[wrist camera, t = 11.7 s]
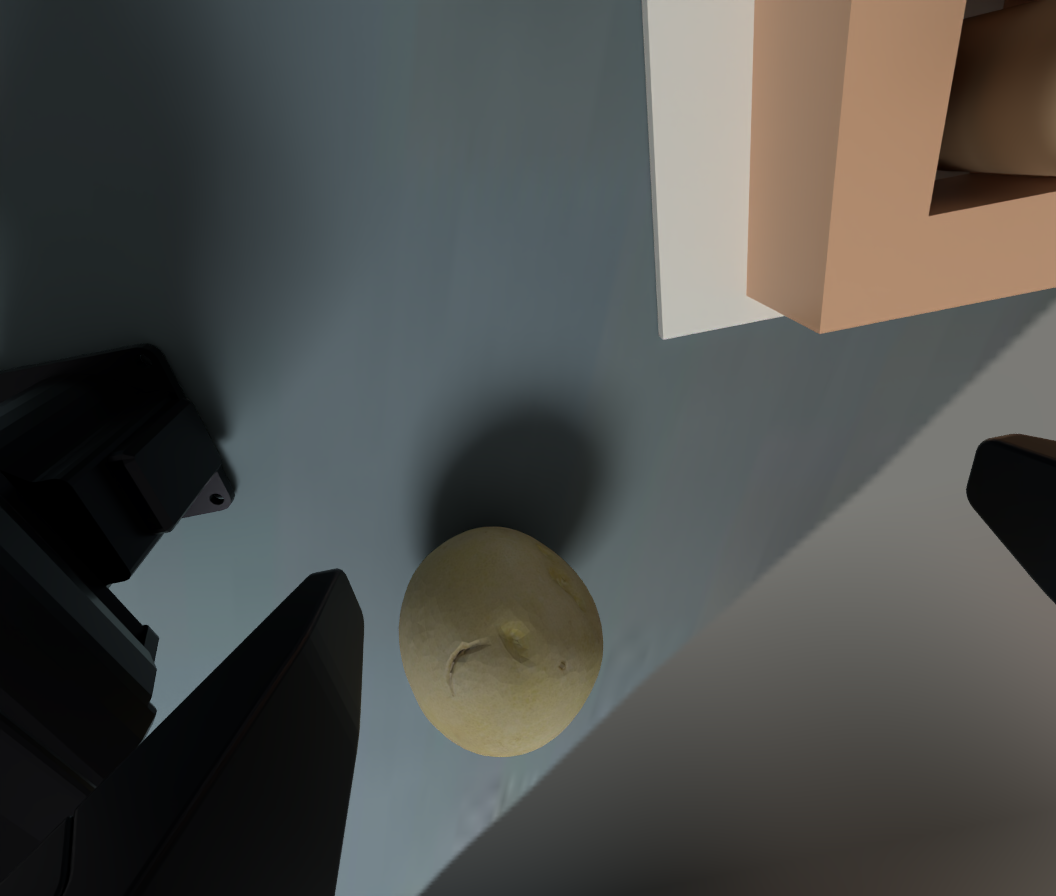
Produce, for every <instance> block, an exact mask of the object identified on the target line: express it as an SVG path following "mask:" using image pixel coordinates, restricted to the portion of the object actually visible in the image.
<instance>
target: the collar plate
mask: <svg viewBox="0 0 1056 896" xmlns="http://www.w3.org/2000/svg"><path fill="white" fill-rule="evenodd" d="M1032 1H1036V0H642V16H643V35H644V55H645V74H646V94H647V113H648V133H649V152H650V172H651V191H652V211H653V230H654V250H655V269H656V289H657V308H658V328H659V336H660V337H661V338H662V339H663V340H664V339H669V338H674V337H679V336H684V335H690V334H695V333H700V332H705V331H710V330H715V329H720V328H725V327H730V326H735V325H740V324H745V323H750V322H756V321H761V320H766V319H771V318H776V317H781V316H786V317H788V318H790V319H792V320H794V321H796V322H798V323H800V324H802V325H804V326H805V327H807V328H809V329H811V330H813V331H815V332H817V333H819V334H821V333H826V332H831V331H837V330H842V329H847V328H852V327H857V326H862V325H867V324H872V323H877V322H882V321H887V320H892V319H897V318H902V317H907V316H912V315H917V314H923V313H928V312H933V311H938V310H943V309H948V308H953V307H958V306H963V305H968V304H973V303H978V302H983V301H988V300H993V299H998V298H1004V297H1009V296H1014V295H1019V294H1024V293H1029V292H1034V291H1039V290H1044V289H1049V288H1054V287H1056V176H1042V175H1022V174H1001V173H981V172H961V171H940V170H937V165H938V159H939V153H940V148H941V142H942V136H943V131H944V125H945V119H946V114H947V108H948V102H949V97H950V91H951V85H952V80H953V74H954V68H955V63H956V57H957V51H958V46H959V40H960V34H961V29H962V23H963V19H965V18H969V17H973V16H977V15H981V14H985V13H989V12H993V11H997V10H1001V9H1004V8H1008V7H1012V6H1016V5H1020V4H1024V3H1028V2H1032Z"/></svg>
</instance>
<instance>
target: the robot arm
mask: <svg viewBox="0 0 1056 896" xmlns="http://www.w3.org/2000/svg"><path fill="white" fill-rule="evenodd" d="M140 355H145V356H147V357H148V358H149V359H150V360H151V363H152V365H147V364H145V363H144V362H143V361H142V360H141V356H140ZM221 463H222V460H221V458H220V456H219V454H218V452H217V450H216V448H215V446H214V444H213V442H212V440H211V438H210V436H209V434H208V432H207V430H206V429H205V427H204V425H203V423H202V421H201V419H200V417H199V415H198V413H197V411H196V409H195V407H194V405H193V403H192V402H190V401H189V400H187V399H186V397H185V395H184V393H183V391H182V389H181V387H180V385H179V383H178V382H177V380H176V378H175V376H174V374H173V372H172V370H171V368H170V366H169V364H168V362H167V360H166V358H165V356H164V355H163V353H162V352H161V351H160V350H159V349H158V348H157V347H155V346H153V345H150V344H137V345H132V346H127V347H122V348H117V349H111V350H106V351H101V352H96V353H91V354H86V355H81V356H75V357H70V358H65V359H60V360H55V361H50V362H45V363H39V364H34V365H29V366H24V367H19V368H14V369H9V370H3V371H0V896H335V890H336V884H337V877H338V871H339V864H340V858H341V852H342V845H343V839H344V832H345V826H346V819H347V813H348V806H349V800H350V793H351V787H352V780H353V774H354V767H355V761H356V755H357V747H358V739H359V730H360V714H361V690H362V666H363V642H364V619H363V614H362V611H361V608H360V606H359V603H358V601H357V599H356V597H355V594H354V592H353V590H352V587H351V585H350V583H349V580H348V578H347V576H346V574H345V573H344V572H343V571H342V570H340V569H331V570H326V571H321V572H316V573H313V574H311V575H309V576H308V577H307V578H306V579H305V580H304V581H303V582H302V583H301V584H300V585H299V586H298V587H297V588H296V589H295V590H294V591H293V592H292V593H291V594H290V595H289V596H288V597H287V598H286V599H285V600H284V601H283V602H282V603H281V604H280V605H279V606H278V607H277V608H276V609H275V610H274V611H273V612H272V613H271V614H270V615H269V616H268V617H267V618H266V619H265V620H264V621H263V622H262V623H261V624H260V625H259V626H258V627H257V628H256V629H255V630H254V631H253V632H252V633H251V634H250V635H249V636H248V637H247V638H246V639H245V640H244V641H243V642H242V643H241V644H240V645H239V646H238V647H237V648H236V649H235V650H234V651H233V652H232V653H231V654H230V655H229V656H228V657H227V658H226V659H225V660H224V661H223V662H222V663H221V664H220V665H219V666H218V667H217V668H216V669H215V670H214V671H213V672H212V673H211V674H210V675H209V676H208V677H207V678H206V679H205V680H204V681H203V682H202V683H201V684H200V685H199V686H198V687H197V688H196V689H195V690H194V691H193V692H192V693H191V694H190V695H189V696H188V697H187V698H186V699H185V700H184V701H183V702H182V703H181V704H180V705H179V706H178V707H177V708H176V709H175V710H174V711H173V712H172V713H171V714H170V715H169V716H168V717H167V718H166V719H165V720H164V721H163V722H162V723H161V724H160V725H159V726H158V727H157V728H156V729H155V730H154V731H153V732H152V733H151V734H150V735H149V736H148V737H147V738H146V739H145V737H146V735H147V733H148V731H149V730H150V728H151V726H152V724H153V721H154V719H155V716H156V712H157V710H156V708H155V706H153V705H152V704H151V703H150V700H151V697H152V693H153V688H154V682H155V677H156V671H157V668H156V666H155V664H154V661H155V656H156V651H157V646H158V641H159V637H158V636H157V635H156V633H155V632H154V631H153V630H152V629H151V628H150V627H149V626H148V625H142V624H141V623H140V622H139V621H138V620H137V619H136V618H135V617H134V616H133V615H132V614H131V613H130V611H129V610H128V609H127V608H126V607H125V606H124V605H123V604H122V603H121V602H120V601H119V600H118V598H117V597H116V596H115V595H114V594H113V593H112V592H111V591H110V590H109V589H108V588H109V587H110V586H111V584H113V583H118V582H123V581H126V580H128V579H130V577H131V576H132V575H133V573H134V572H135V571H136V569H137V568H138V567H139V566H140V564H141V563H142V562H143V560H144V559H145V558H146V556H147V555H148V554H149V552H150V551H151V550H152V549H153V547H154V546H155V545H156V543H157V542H158V541H159V539H160V538H161V537H162V535H163V534H164V533H168V532H171V531H172V530H173V529H174V528H175V526H176V525H177V524H178V522H179V521H180V520H181V518H185V517H190V516H195V515H200V514H205V513H210V512H215V511H220V510H224V509H227V508H228V507H229V506H230V505H231V503H232V501H233V500H234V497H235V494H234V490H233V488H232V486H231V485H230V483H229V481H228V479H227V477H226V475H225V473H224V471H223V469H222V467H221ZM966 493H967V498H968V500H969V502H970V504H971V506H972V507H973V508H974V510H975V511H976V512H977V513H978V514H979V516H980V517H981V518H982V519H983V520H984V522H985V523H986V524H987V525H988V526H989V528H990V529H991V530H992V531H993V532H994V533H995V535H996V536H997V537H998V538H999V539H1000V541H1001V542H1002V543H1003V544H1004V545H1005V547H1006V548H1007V549H1008V550H1009V551H1010V552H1011V554H1012V555H1013V556H1014V557H1015V559H1017V561H1018V562H1019V563H1020V564H1021V566H1022V567H1023V568H1024V569H1025V570H1026V571H1027V573H1028V574H1029V575H1030V576H1031V578H1032V579H1033V580H1034V581H1035V582H1036V583H1037V584H1038V586H1039V587H1040V588H1041V589H1042V590H1043V591H1044V592H1045V594H1047V596H1048V597H1049V598H1050V599H1051V600H1052V601H1053V602H1054V603H1055V604H1056V441H1054V440H1048V439H1043V438H1038V437H1033V436H1028V435H1022V434H1009V435H1004V436H999V437H994V438H989V439H987V440H985V441H983V442H982V443H981V444H980V445H979V446H978V448H977V450H976V454H975V458H974V461H973V465H972V469H971V472H970V476H969V480H968V483H967V488H966ZM214 494H219V495H221V496H222V497H223V498H224V499H219V498H217V497H216V496H215V495H214ZM144 739H145V740H144Z"/></svg>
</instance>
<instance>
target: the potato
mask: <svg viewBox="0 0 1056 896" xmlns="http://www.w3.org/2000/svg"><path fill="white" fill-rule="evenodd" d="M399 643H400V651H401V657H402V662H403V666H404V670H405V673H406V676H407V678H408V681H409V683H410V686H411V688H412V691H413V693H414V695H415V698H416V700H417V702H418V704H419V706H420V708H421V709H422V711H423V713H424V714H425V716H426V717H427V718H428V720H429V721H430V722H431V723H432V724H433V725H434V726H435V727H436V728H437V729H438V730H439V731H440V732H441V733H442V734H443V735H445V736H446V737H447V738H448V739H450V740H451V741H452V742H454V743H456V744H457V745H459V746H461V747H462V748H464V749H466V750H469V751H471V752H474V753H477V754H480V755H485V756H494V757H509V756H516V755H521V754H525V753H528V752H531V751H533V750H536V749H538V748H540V747H542V746H543V745H545V744H547V743H548V742H550V741H551V740H552V739H554V738H555V737H556V736H558V735H559V734H560V733H561V732H562V731H563V730H564V729H565V728H566V727H567V726H568V725H569V724H570V722H571V721H572V720H573V719H574V718H575V716H576V715H577V713H578V712H579V711H580V709H581V708H582V706H583V705H584V703H585V701H586V699H587V698H588V696H589V694H590V692H591V690H592V688H593V686H594V683H595V681H596V679H597V676H598V673H599V670H600V666H601V662H602V655H603V635H602V627H601V622H600V618H599V615H598V611H597V608H596V605H595V603H594V600H593V598H592V596H591V595H590V593H589V591H588V589H587V587H586V586H585V584H584V583H583V581H582V580H581V579H580V577H579V576H578V575H577V573H576V572H575V571H574V570H573V569H572V568H571V567H570V566H569V565H568V564H567V563H566V562H565V561H564V560H563V559H562V558H561V557H560V556H559V555H557V554H556V553H555V552H554V551H552V550H551V549H549V548H548V547H546V546H545V545H543V544H542V543H540V542H539V541H538V540H536V539H534V538H533V537H531V536H529V535H526V534H524V533H522V532H519V531H517V530H513V529H510V528H505V527H481V528H475V529H471V530H468V531H465V532H463V533H461V534H458V535H456V536H454V537H452V538H451V539H449V540H447V541H446V542H444V543H443V544H441V545H440V546H439V547H437V548H436V549H435V550H434V551H432V552H431V553H430V554H429V555H428V556H427V557H426V558H425V559H424V560H423V561H422V563H421V564H420V565H419V567H418V568H417V570H416V571H415V573H414V574H413V576H412V578H411V580H410V582H409V584H408V587H407V590H406V593H405V596H404V600H403V603H402V607H401V613H400V621H399Z"/></svg>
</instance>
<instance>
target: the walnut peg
mask: <svg viewBox="0 0 1056 896" xmlns="http://www.w3.org/2000/svg"><path fill="white" fill-rule="evenodd" d="M937 170H940V171H961V172H981V173H1001V174H1022V175H1042V176H1056V0H1036V1H1032V2H1028V3H1024V4H1020V5H1016V6H1012V7H1008V8H1004V9H1001V10H997V11H993V12H989V13H985V14H981V15H977V16H973V17H969V18H965V19H963V23H962V29H961V34H960V40H959V46H958V51H957V57H956V63H955V68H954V74H953V80H952V85H951V91H950V97H949V102H948V108H947V114H946V119H945V125H944V131H943V136H942V142H941V148H940V153H939V159H938V165H937Z"/></svg>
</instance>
